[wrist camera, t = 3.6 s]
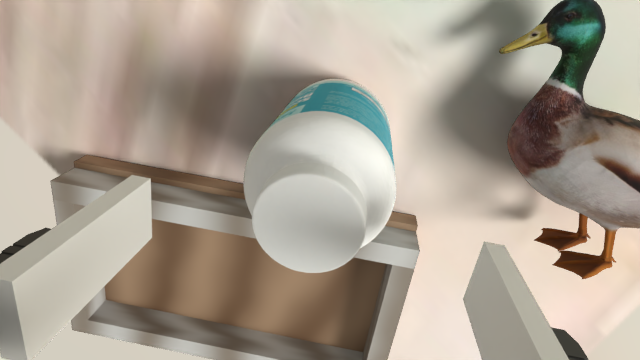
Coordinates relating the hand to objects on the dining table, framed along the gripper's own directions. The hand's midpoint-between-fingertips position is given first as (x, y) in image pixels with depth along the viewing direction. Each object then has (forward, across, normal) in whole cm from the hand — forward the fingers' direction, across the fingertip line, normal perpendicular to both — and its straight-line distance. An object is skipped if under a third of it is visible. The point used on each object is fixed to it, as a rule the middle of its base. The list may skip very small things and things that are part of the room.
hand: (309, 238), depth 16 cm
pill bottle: (+14, 0, 0) cm, 14 cm away
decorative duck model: (+14, +17, +4) cm, 22 cm away
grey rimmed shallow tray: (+14, -6, -12) cm, 20 cm away
